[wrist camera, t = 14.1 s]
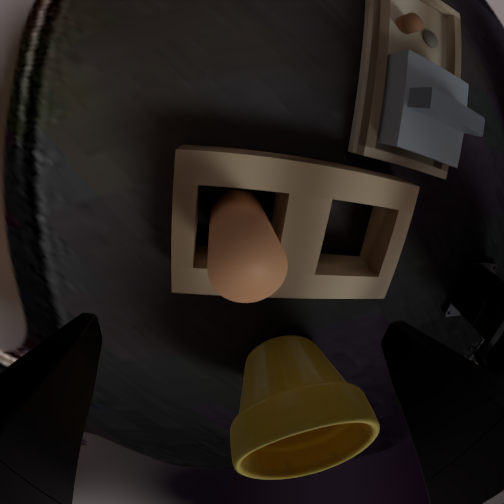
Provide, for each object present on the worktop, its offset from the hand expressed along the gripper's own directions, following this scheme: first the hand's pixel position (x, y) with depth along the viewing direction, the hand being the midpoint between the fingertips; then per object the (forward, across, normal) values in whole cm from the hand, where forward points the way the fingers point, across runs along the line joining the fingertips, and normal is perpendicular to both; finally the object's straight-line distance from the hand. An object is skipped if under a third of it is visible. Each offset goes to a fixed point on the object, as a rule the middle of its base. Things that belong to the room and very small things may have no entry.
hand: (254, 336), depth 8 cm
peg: (+11, 0, 0) cm, 11 cm away
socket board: (+11, -4, 0) cm, 12 cm away
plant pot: (+11, -6, +13) cm, 18 cm away
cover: (+10, -11, -9) cm, 17 cm away
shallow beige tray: (+11, -11, -12) cm, 19 cm away
